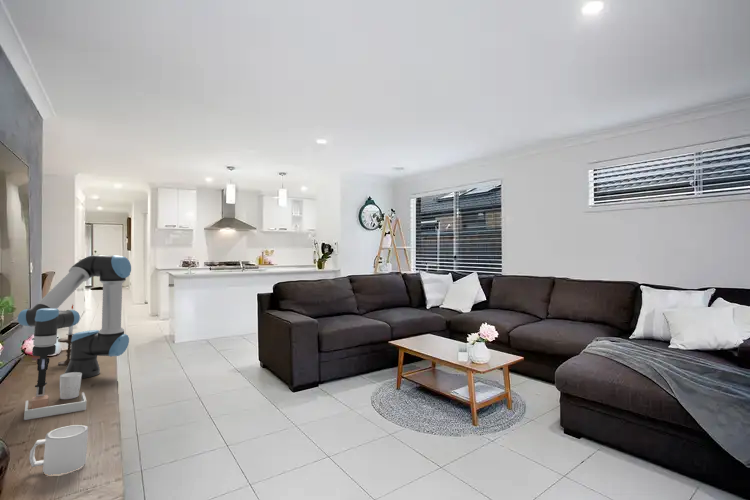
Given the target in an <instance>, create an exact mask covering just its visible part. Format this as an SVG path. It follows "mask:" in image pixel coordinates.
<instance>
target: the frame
mask: <svg viewBox="0 0 750 500" xmlns="http://www.w3.org/2000/svg"><path fill="white" fill-rule="evenodd" d="M87 403H88V402H87V397H86V394H85V392H81V399H80V401H76V402H69V403H64V404H63V403H62V404H56V405H50V406H48V407H42V408H35V409H32V408H30V409H29V400H25V406H24V415H23V416H24V417H23V420H24V421H26V420H32V419H38V418H45V417H51V416H57V415H63V414H69V413H74V412H81V411H86V410H87Z"/></svg>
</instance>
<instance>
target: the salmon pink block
mask: <svg viewBox="0 0 750 500" xmlns="http://www.w3.org/2000/svg"><path fill="white" fill-rule="evenodd" d="M31 401H32V402H31V409H35V408H42V407H49V406H48V405H49V404H48V403H49V395H48V394H46V395H44V396H38V397H36V396H32V400H31Z"/></svg>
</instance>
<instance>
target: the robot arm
mask: <svg viewBox="0 0 750 500" xmlns="http://www.w3.org/2000/svg"><path fill="white" fill-rule="evenodd" d="M131 272H132V265H131V261H130V260H129V259H128V257H126V256H123V255H115V254H113V255H111V254H109V255H107V254H91V255H89V256H86V257H84V258H82V259H81V260H79V261H77V262H76V263H75V264H73V265H72V266H71V267H70V268H69V270H68V273H67V274H66V275H65V276H64V277H63V278H62V279H61V280H60V281H59V282H58V283H57V284H56V285H54V287H53V288H52V289H50V291H49V292H47V294H45V295H44V296H43V297H42V298H41V300H39V301H38V302H37V303H36V304H35V305H34V306H33V307H32V308H26V309H23V310H21V311H19V313H18V315H17V322H18V324H19V325H20V326H23V327H29V328H30V327H31V328H32V327H34V332H33V337H32V338H31V341H33V343H32V345H33V347H32V353H31V354H32V356H34V357H39V358H37V360H36V364H37V366H36V368H37V369H36V371H38V372H37V373H38V375H37V381H36V382H37V384H35V385H34V388H36V393H35V397H38V396H45V391H46V385H48V382H47V381H46V377H47V370H48V369H49V364H50V357H48V356H52V355H54V354H56V347H57V346H56V344H57V341H58V337H57V336H58V329H63V328H64V329H65V328H69V327H71V326H73V327H75V326H76V325H77V324H78V323H80V319H81V315H80V313H79V312H78V311H77V310H74V309H73V310H72V309H67V310H59V308H60V307H61V305H63V303H65V301H66V300H67V299H68V298H69V297H70V296H71V295H72V294H73V293H74V292H75V291H76V290H77V289H78V288H79V287H80V285H82V284H84V283H83V282H87V281H88V280H89V279H91V278H94V277H99V282H100V283H101V284H102V306H101V307H102V308H101V311H102V312H101V314H102V315H101V329H99V330H98V329H93V330H84V331H78V332H75V333H72V334H73V335H72V340H71V353H70V362H69V364H68V365H67V367H66V369H65V371H64V374H65V373H71V372H80V373H82V377H81V379H86V378H92V377H95V376H97V375H98V376H99V374H100V373H101V367H100V364H99V361H98V356H100V357H119V356H122V355H123V354H124V353H125V352H126V350H127V349H128V347H129V343H130V337H129V335H128V334H126V333H125V329H124V328H123V327H122V306H123V305H122V303H123V301H122V300H123V283H125V282H126V280H127V278H129V277H130V275H131Z"/></svg>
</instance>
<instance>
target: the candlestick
mask: <svg viewBox="0 0 750 500" xmlns="http://www.w3.org/2000/svg"><path fill="white" fill-rule="evenodd" d="M71 310H74V304H73V303H72V304H71ZM73 330H74V326H71V327H68V333H66V336H67V337H62V338H61V337H60V338H57V342H58V343H65V344H67V349H66V350H65V353H66V355H65V356H66V359H65V360H63V361H60V362H59V361H58V363H57V365H58V366H60V365H67V366H68V364H69V362H70V354H71V340H72V336H73V334H74V333H73Z"/></svg>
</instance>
